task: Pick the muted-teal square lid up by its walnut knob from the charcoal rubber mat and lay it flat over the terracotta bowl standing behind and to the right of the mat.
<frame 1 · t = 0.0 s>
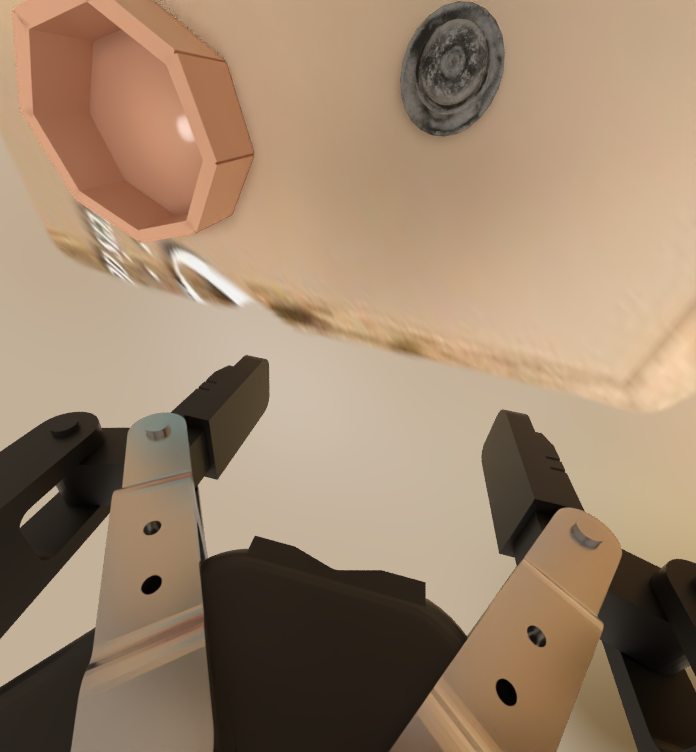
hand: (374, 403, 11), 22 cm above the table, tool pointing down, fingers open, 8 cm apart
dark grey chess piece: (449, 79, 22), on the table
bowl: (169, 131, 28), on the table
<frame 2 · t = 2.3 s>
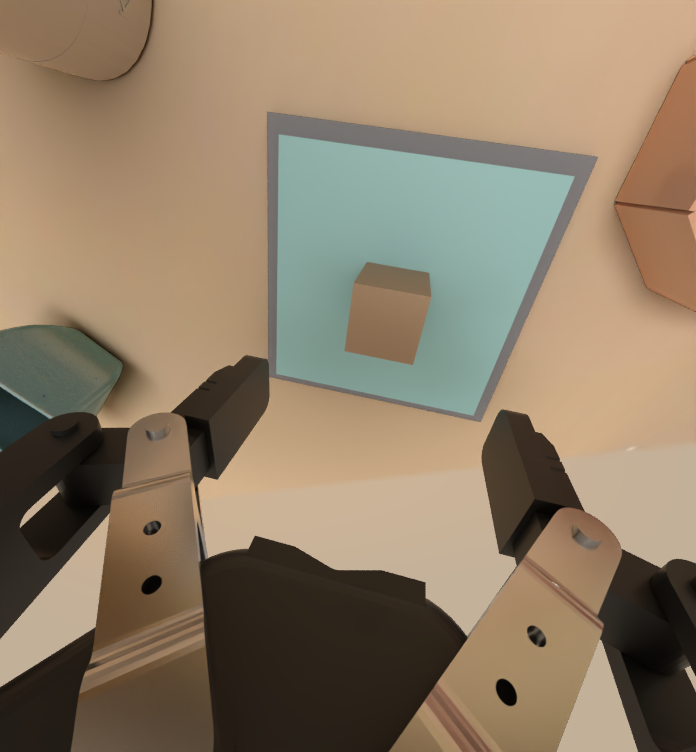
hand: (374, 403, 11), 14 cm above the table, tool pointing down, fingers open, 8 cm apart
flower pot: (96, 360, 32), on the table
mat: (393, 291, 23), on the table
lid: (392, 294, 23), resting on mat
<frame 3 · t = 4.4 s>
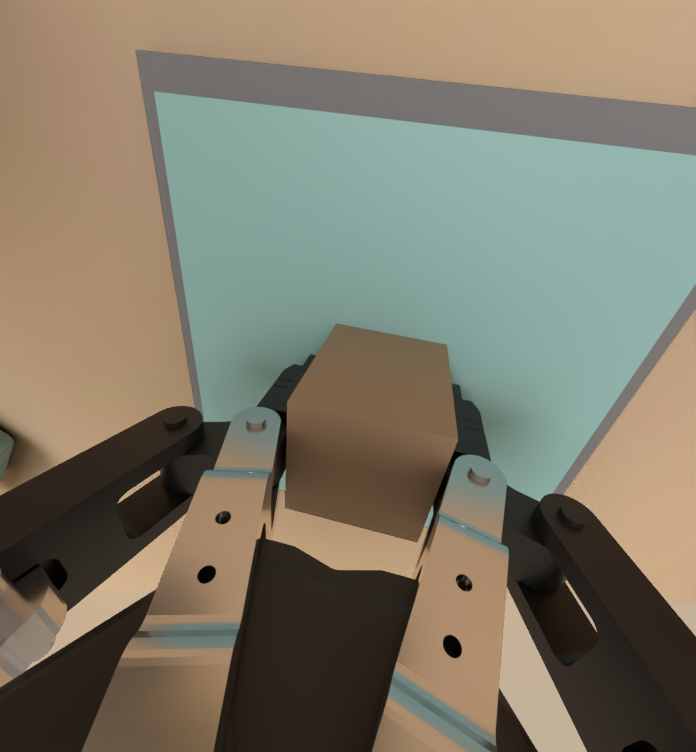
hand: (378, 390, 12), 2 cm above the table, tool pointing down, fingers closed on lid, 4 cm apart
mat: (384, 364, 14), on the table
lid: (383, 370, 13), resting on mat, touching gripper
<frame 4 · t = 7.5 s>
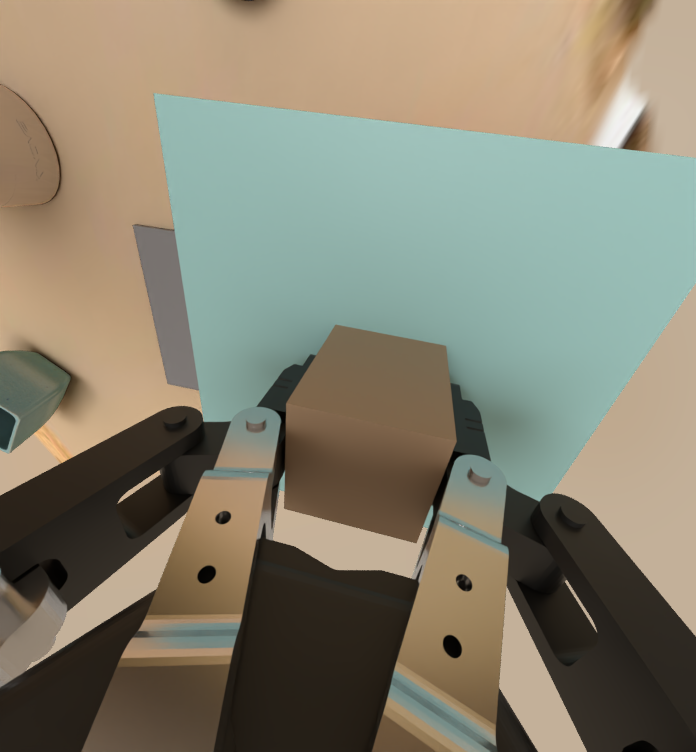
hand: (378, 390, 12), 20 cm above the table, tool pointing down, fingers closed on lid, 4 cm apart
flower pot: (52, 374, 45), on the table
mat: (232, 327, 35), on the table
lid: (382, 371, 14), point 18 cm above the table, touching gripper
when the fingers open (8 cm above the table, at t = 10.6 s): lid stays where it is, resting on bowl.
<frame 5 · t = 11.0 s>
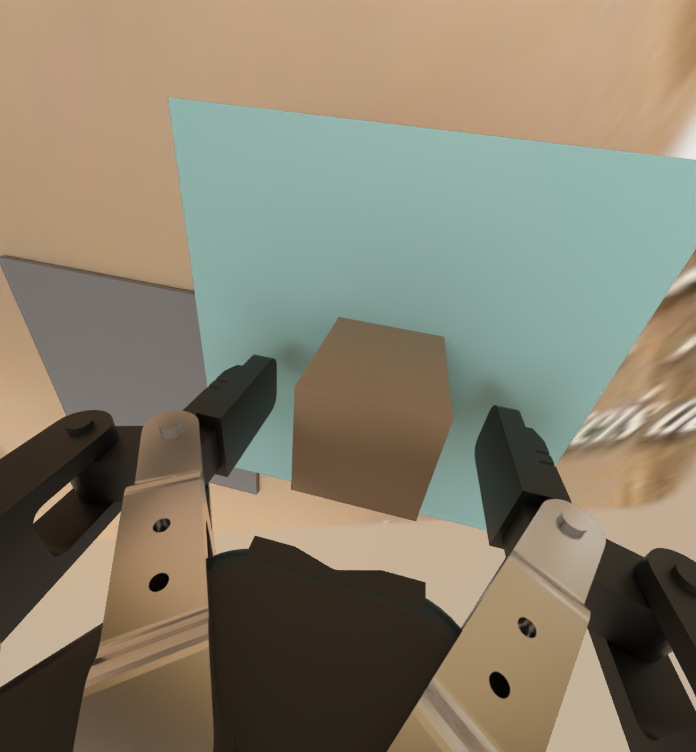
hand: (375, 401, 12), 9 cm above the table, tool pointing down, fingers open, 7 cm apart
mat: (150, 389, 26), on the table
lid: (383, 362, 14), point 6 cm above the table, touching bowl
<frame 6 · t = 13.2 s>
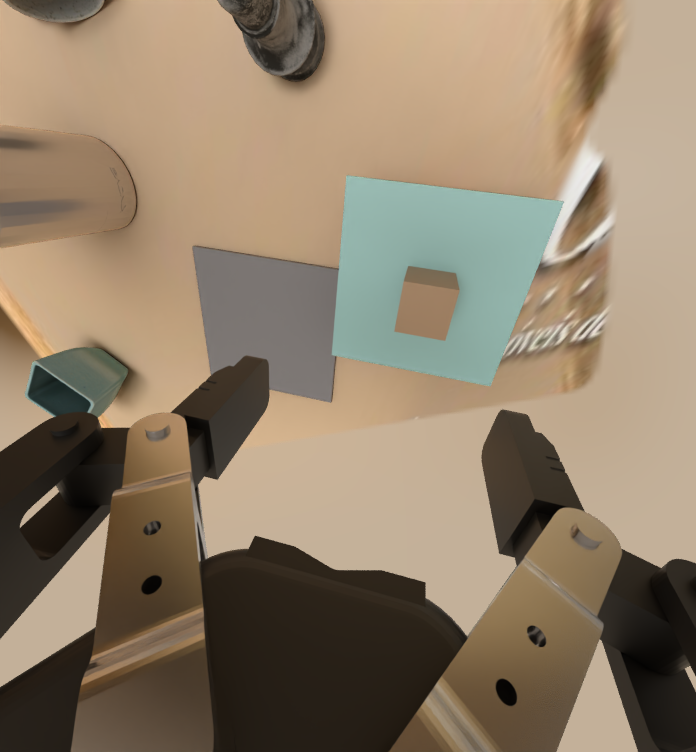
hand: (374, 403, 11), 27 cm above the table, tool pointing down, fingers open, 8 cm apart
dark grey chess piece: (294, 40, 28), on the table
flower pot: (112, 367, 52), on the table
mat: (269, 329, 42), on the table
lid: (426, 289, 30), point 6 cm above the table, touching bowl
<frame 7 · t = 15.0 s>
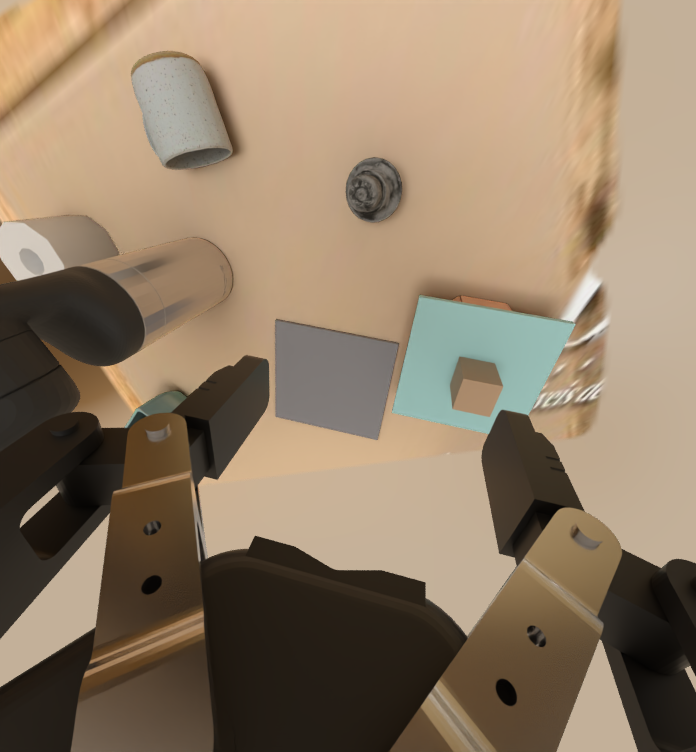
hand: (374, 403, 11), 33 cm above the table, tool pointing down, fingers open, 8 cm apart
dark grey chess piece: (377, 190, 37), on the table
flower pot: (185, 405, 61), on the table
mat: (330, 383, 52), on the table
ceramic mug: (196, 129, 38), on the table
bowl: (466, 349, 45), on the table
toilet tissue: (98, 258, 49), on the table
lid: (470, 371, 40), point 6 cm above the table, touching bowl
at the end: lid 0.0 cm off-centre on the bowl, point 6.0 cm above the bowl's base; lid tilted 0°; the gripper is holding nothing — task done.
